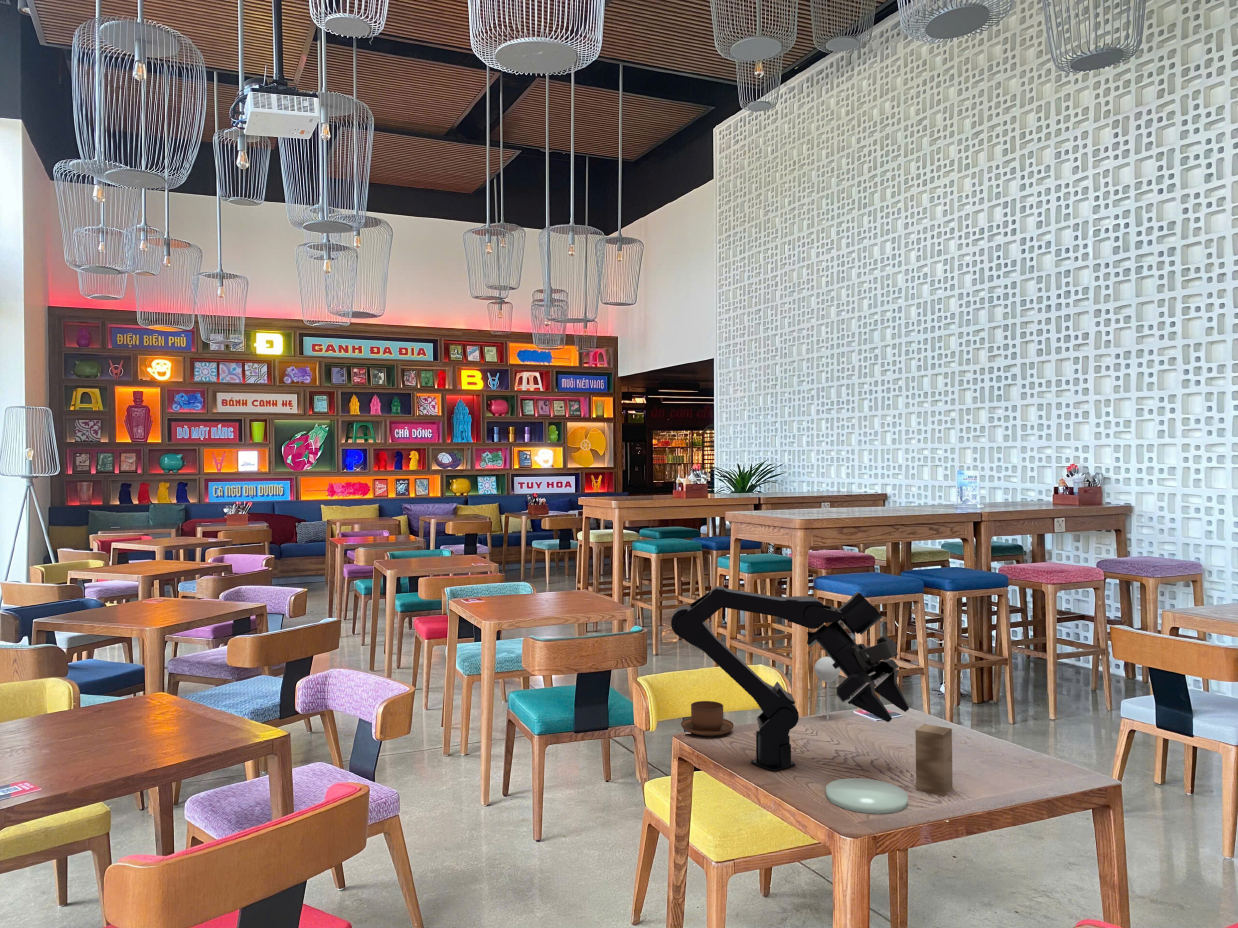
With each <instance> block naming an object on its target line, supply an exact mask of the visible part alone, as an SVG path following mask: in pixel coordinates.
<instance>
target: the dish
mask: <svg viewBox="0 0 1238 928" xmlns="http://www.w3.org/2000/svg"><path fill="white" fill-rule="evenodd" d="M825 796H826V799H827V800H828V802H830V803H831V804H833V805H835V806H837V807H839V808H842V809H845V810H847V811H852V812H857V813H862V814H863V813H864V814H872V815H874V814H875V815H877V814H878V815H885V814H894V813H898V812H901V811H904V810H905V809H906V808H907V807H908V804H909V796H908V793H907V792H906V791H905V790H904V789H903V788H901V787H899V786H897V785H895V784H892V783H890V782H886V781H883V780H878V779H872V778H861V777H859V778H858V777H856V778H855V777H852V778H851V777H850V778H848V777H847V778H841V779H835V780H832V781H831V782H829V783H828V784H827V785H826V787H825Z"/></svg>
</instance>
